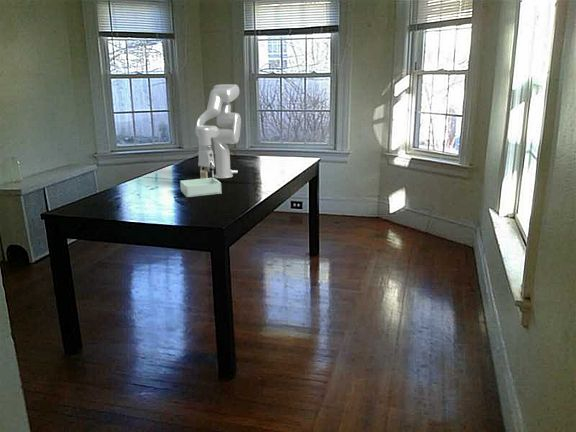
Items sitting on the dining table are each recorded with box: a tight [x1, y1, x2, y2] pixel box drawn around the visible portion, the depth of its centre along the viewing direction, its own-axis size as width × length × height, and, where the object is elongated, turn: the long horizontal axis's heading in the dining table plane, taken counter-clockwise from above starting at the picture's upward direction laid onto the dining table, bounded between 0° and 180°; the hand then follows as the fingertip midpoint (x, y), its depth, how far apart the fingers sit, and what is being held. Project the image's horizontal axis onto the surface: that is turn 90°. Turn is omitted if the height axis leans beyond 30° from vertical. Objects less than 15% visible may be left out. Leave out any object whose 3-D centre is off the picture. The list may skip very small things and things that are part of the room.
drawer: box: [199, 167, 215, 179], centre depth 317 cm, size 6×6×8 cm
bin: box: [179, 177, 223, 198], centre depth 299 cm, size 20×18×6 cm
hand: (207, 177), depth 318 cm, fingers closed on drawer, 5 cm apart
